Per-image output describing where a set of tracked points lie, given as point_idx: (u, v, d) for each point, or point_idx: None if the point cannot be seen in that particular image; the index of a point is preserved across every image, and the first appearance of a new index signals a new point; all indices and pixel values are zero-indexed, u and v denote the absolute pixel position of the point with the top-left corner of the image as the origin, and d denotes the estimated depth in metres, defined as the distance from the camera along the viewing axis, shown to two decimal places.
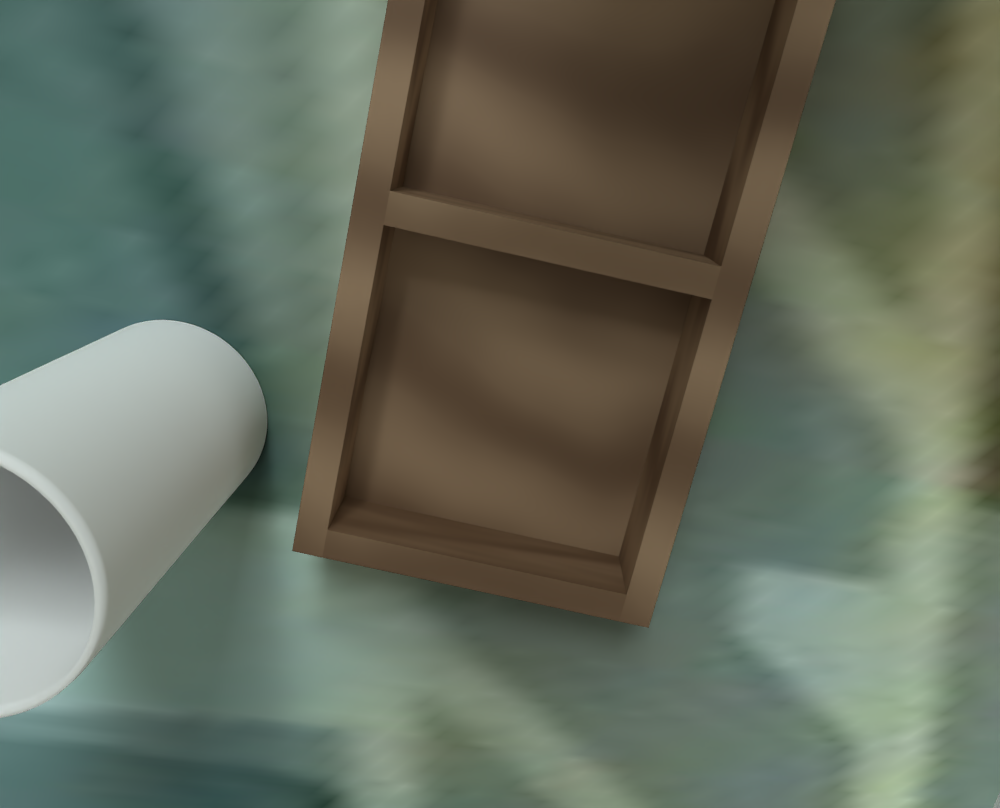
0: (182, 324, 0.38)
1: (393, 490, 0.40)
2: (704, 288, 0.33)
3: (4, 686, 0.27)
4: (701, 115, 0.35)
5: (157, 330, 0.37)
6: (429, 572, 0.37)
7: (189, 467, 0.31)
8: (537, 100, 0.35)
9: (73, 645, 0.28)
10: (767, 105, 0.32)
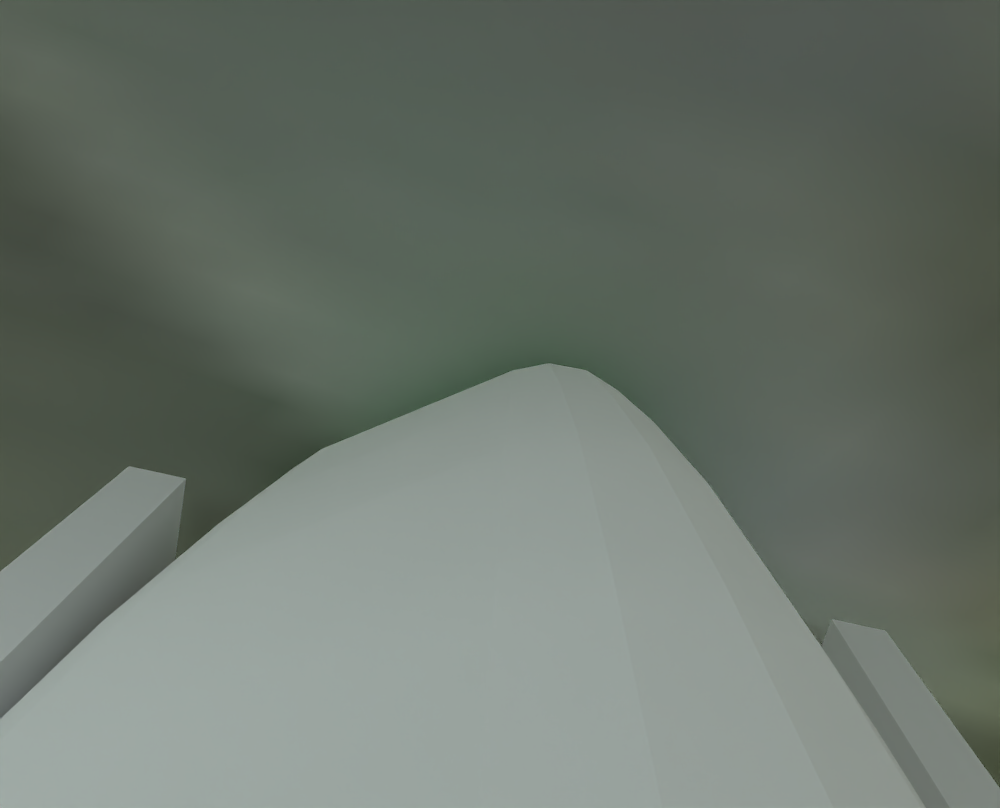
0: None
1: None
2: None
3: None
4: None
5: None
6: None
7: None
8: None
9: None
10: None
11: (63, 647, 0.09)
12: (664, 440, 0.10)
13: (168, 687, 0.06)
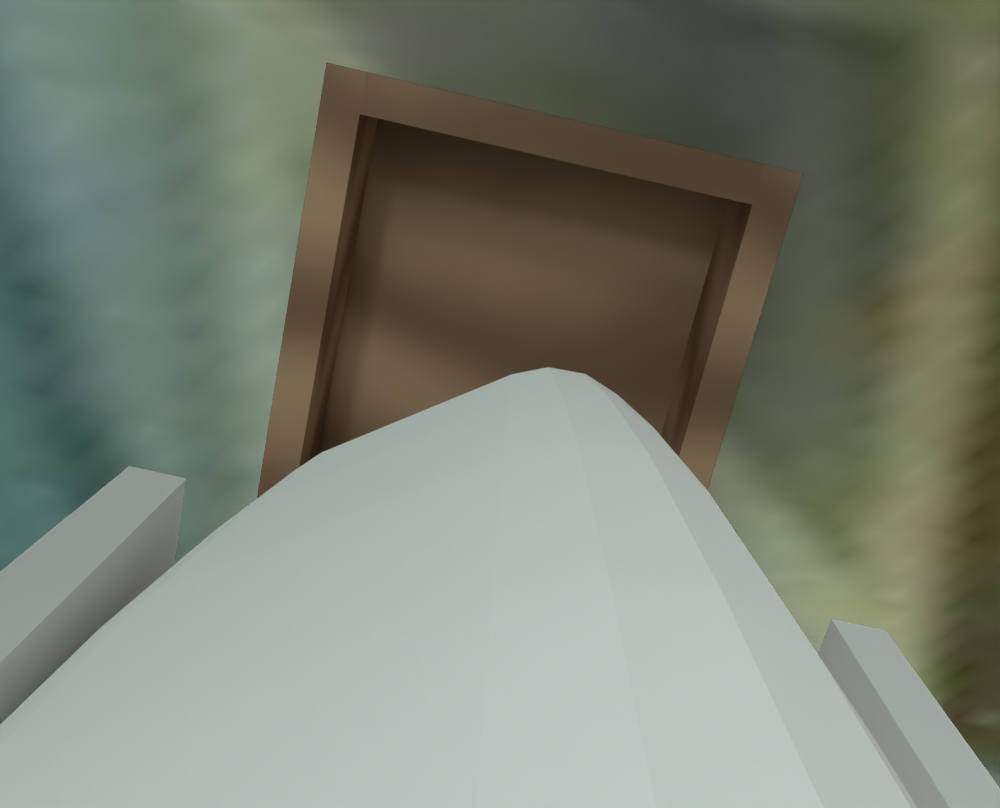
0: None
1: None
2: None
3: None
4: (631, 384, 0.33)
5: None
6: None
7: None
8: (458, 368, 0.33)
9: None
10: (693, 404, 0.30)
11: (63, 647, 0.09)
12: (663, 445, 0.09)
13: (165, 696, 0.06)
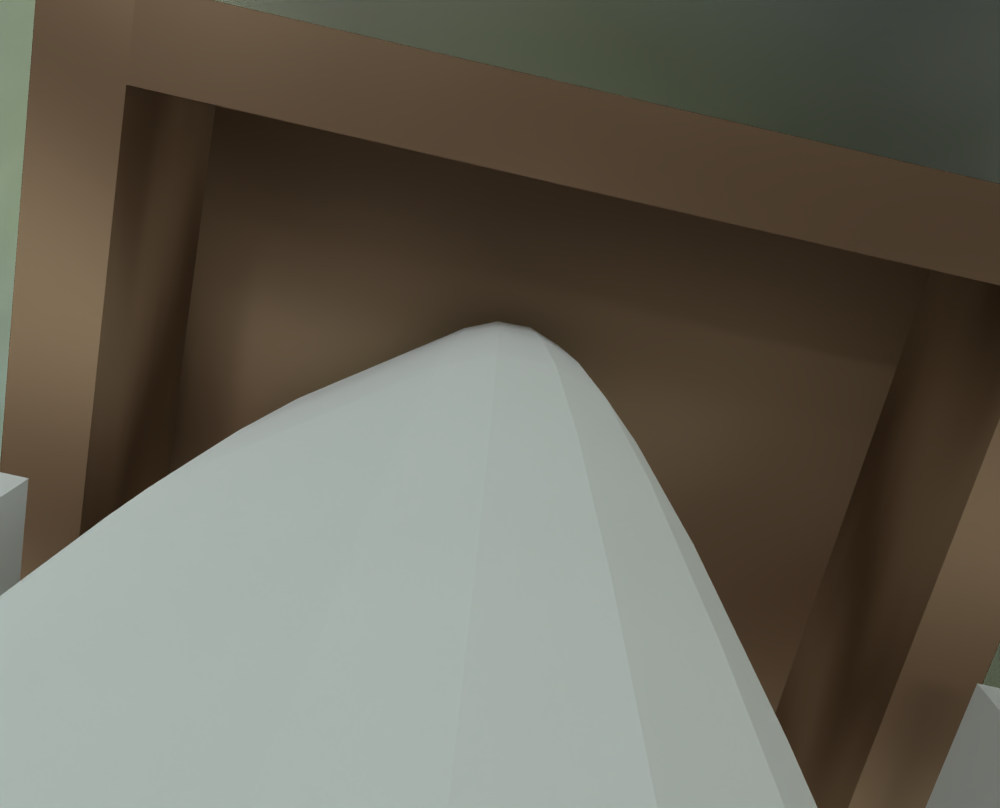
0: None
1: None
2: None
3: None
4: None
5: None
6: None
7: None
8: None
9: None
10: (881, 715, 0.14)
11: None
12: (578, 370, 0.11)
13: (162, 526, 0.08)
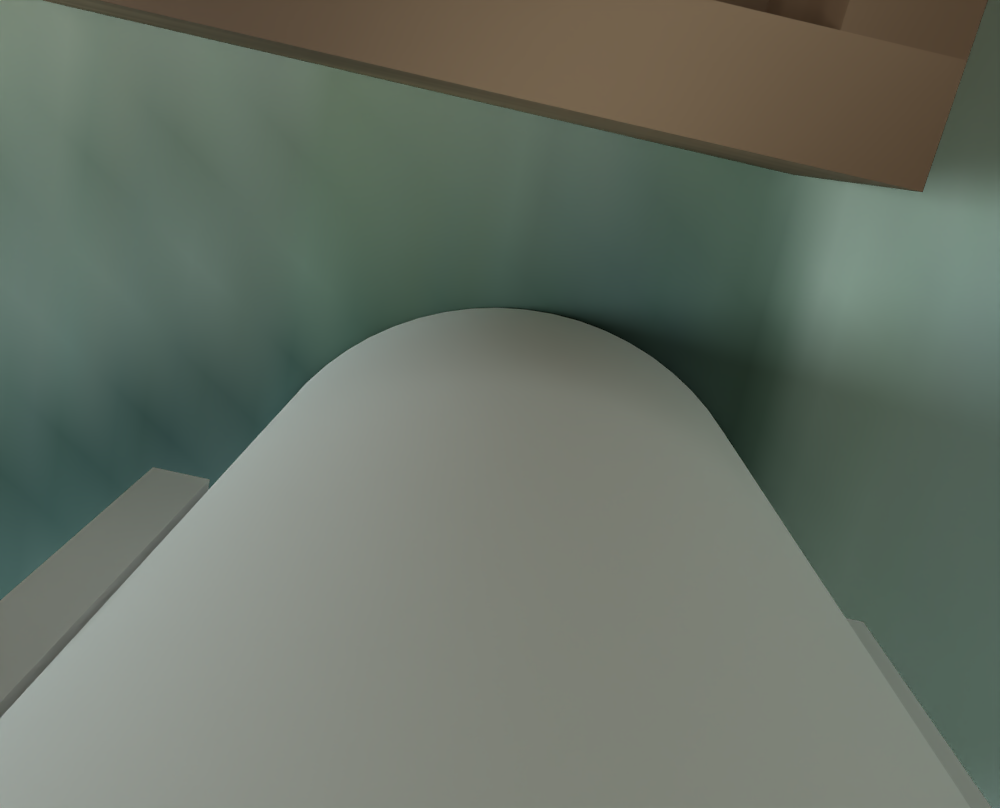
0: None
1: None
2: None
3: None
4: None
5: None
6: None
7: (283, 606, 0.05)
8: None
9: None
10: None
11: None
12: None
13: None
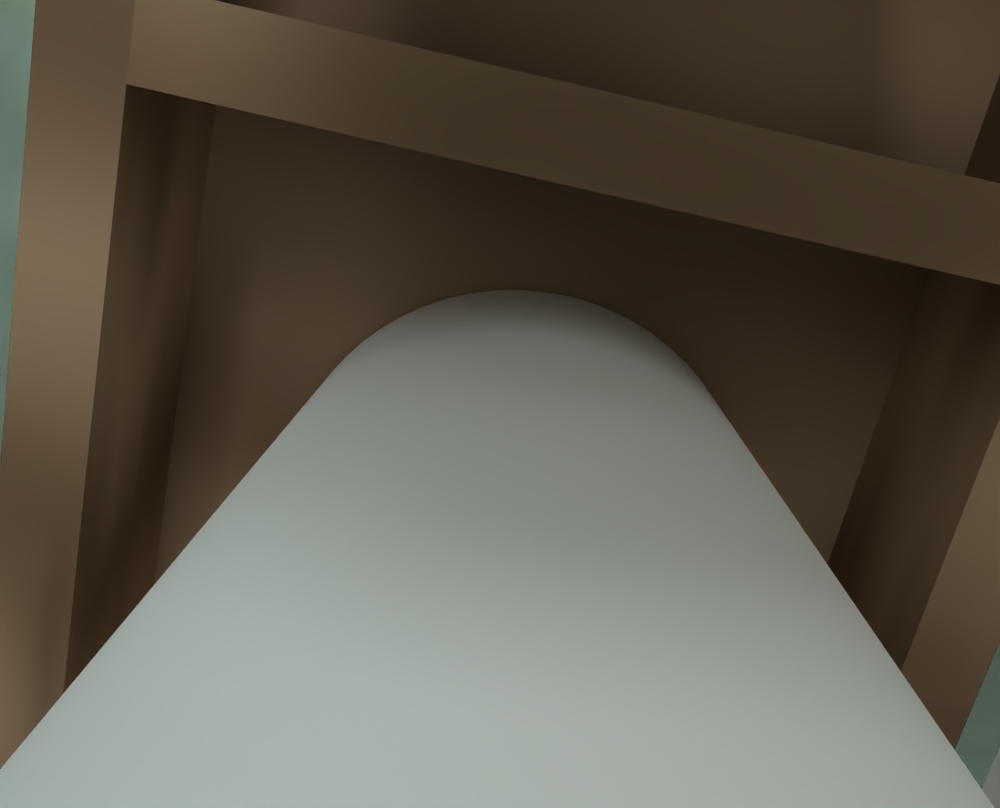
0: None
1: None
2: None
3: None
4: None
5: None
6: None
7: (379, 492, 0.07)
8: None
9: None
10: None
11: None
12: None
13: None
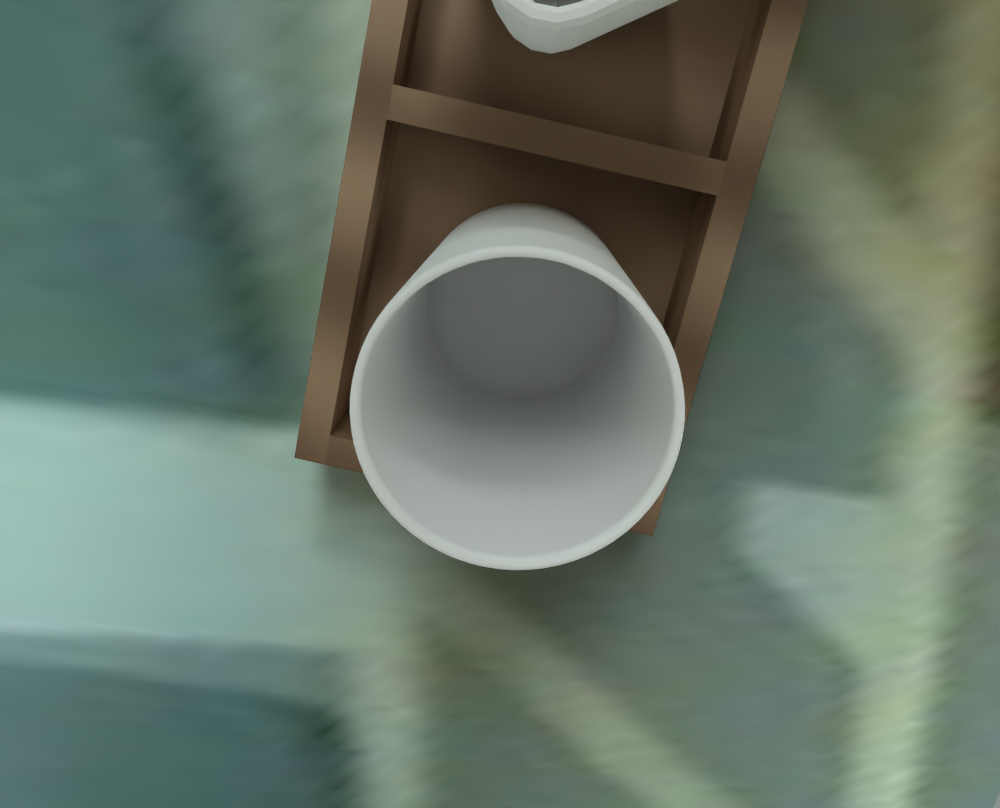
0: None
1: None
2: (709, 184, 0.33)
3: (667, 395, 0.24)
4: (706, 15, 0.35)
5: None
6: None
7: (492, 224, 0.28)
8: None
9: (649, 335, 0.25)
10: None
11: None
12: None
13: None
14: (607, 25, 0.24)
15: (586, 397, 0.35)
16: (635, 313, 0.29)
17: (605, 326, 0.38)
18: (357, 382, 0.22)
